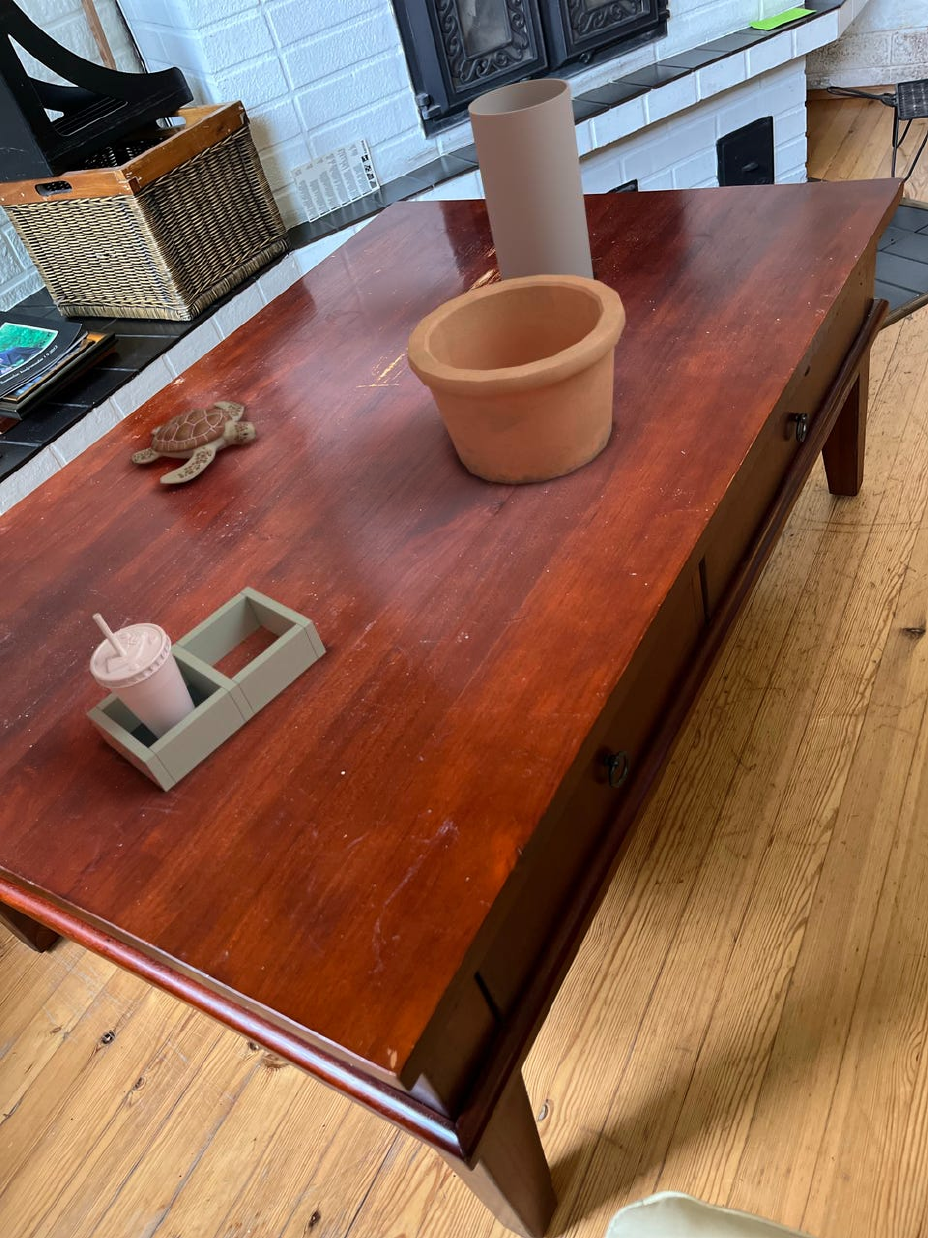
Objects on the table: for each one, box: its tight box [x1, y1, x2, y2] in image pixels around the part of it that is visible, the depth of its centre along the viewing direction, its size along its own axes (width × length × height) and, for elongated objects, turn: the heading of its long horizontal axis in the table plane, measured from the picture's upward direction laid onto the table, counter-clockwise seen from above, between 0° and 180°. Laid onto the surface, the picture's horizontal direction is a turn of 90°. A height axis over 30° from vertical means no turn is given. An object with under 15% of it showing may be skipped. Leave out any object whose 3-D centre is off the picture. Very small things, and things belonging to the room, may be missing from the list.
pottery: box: [406, 275, 627, 485], centre depth 95 cm, size 22×22×14 cm
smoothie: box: [89, 612, 195, 739], centre depth 74 cm, size 6×6×14 cm
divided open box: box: [85, 586, 327, 793], centre depth 79 cm, size 18×10×5 cm, turn 138°
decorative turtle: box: [131, 401, 258, 485], centre depth 114 cm, size 18×17×5 cm
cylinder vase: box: [467, 78, 594, 281], centre depth 119 cm, size 12×12×25 cm
